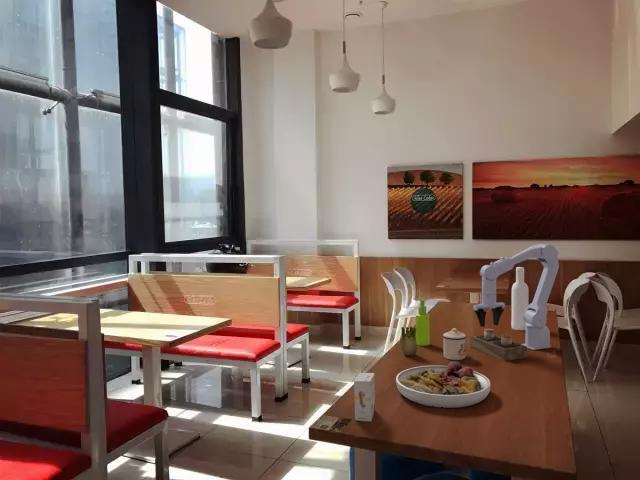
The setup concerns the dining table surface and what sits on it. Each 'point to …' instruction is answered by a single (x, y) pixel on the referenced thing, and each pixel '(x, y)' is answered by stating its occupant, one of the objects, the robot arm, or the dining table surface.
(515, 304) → the bottle
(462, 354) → the teacup with lid
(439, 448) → the dining table surface
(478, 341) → the walnut block
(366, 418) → the ink box
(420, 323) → the soap dispenser
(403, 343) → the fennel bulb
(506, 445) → the dining table surface
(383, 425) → the dining table surface
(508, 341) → the peg
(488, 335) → the peg
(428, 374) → the bowl
